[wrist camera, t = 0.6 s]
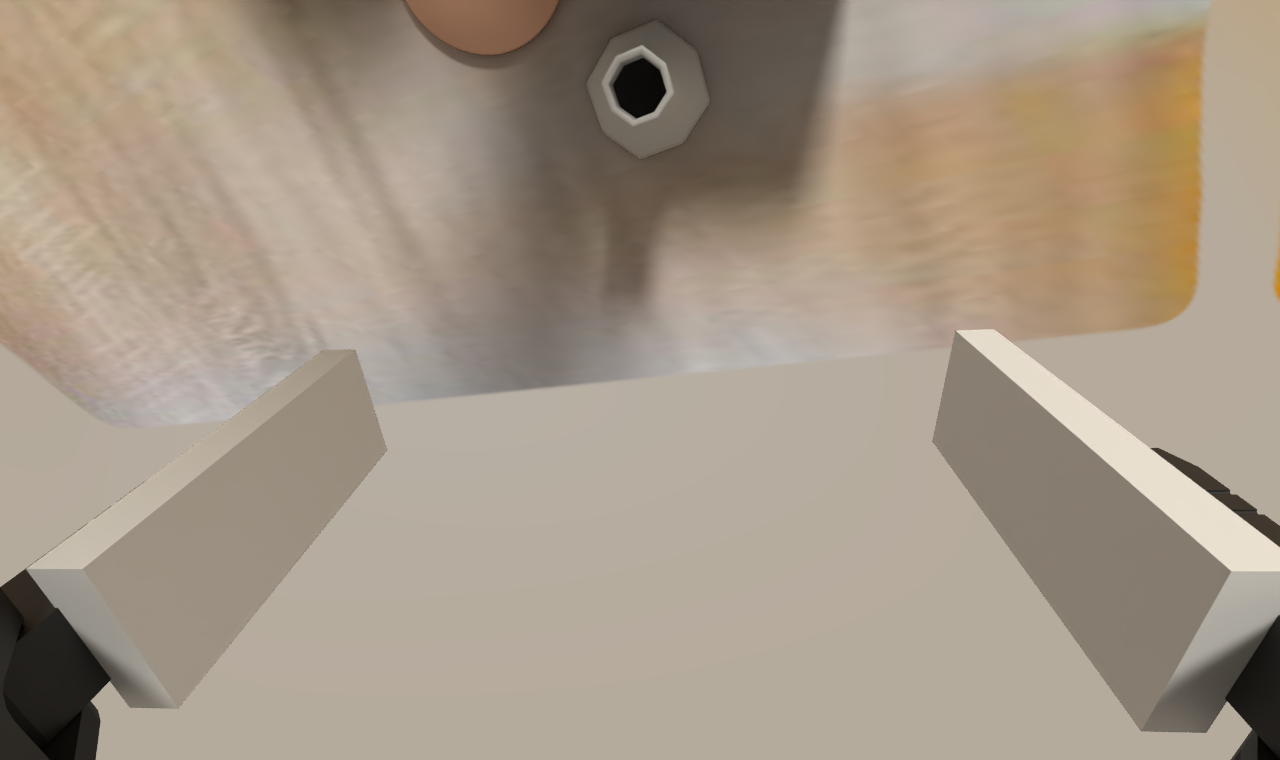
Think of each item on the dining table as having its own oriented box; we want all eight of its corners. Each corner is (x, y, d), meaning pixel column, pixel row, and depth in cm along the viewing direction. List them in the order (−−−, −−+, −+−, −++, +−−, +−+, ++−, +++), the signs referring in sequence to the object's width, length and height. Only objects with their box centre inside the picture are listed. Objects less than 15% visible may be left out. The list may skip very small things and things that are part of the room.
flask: (638, 180, 37) (624, 204, 28) (565, 81, 35) (525, 72, 26) (731, 104, 35) (749, 103, 26) (660, -7, 32) (652, -51, 23)
